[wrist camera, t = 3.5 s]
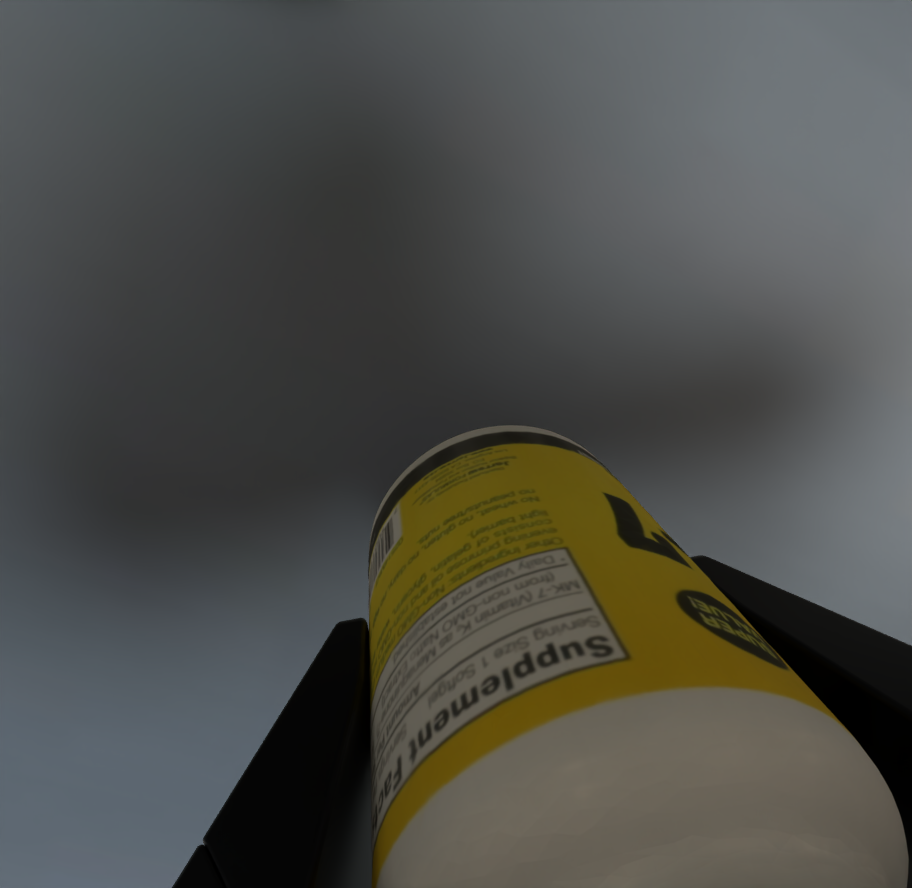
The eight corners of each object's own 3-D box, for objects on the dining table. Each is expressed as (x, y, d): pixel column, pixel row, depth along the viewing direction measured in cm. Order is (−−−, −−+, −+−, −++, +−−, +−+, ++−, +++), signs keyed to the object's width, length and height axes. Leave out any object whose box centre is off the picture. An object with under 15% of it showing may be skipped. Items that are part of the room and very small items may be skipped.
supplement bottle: (655, 558, 11) (1278, 1326, 4) (454, 673, 12) (629, 1581, 4) (549, 363, 9) (1442, 1145, 2) (312, 510, 10) (119, 1693, 2)
